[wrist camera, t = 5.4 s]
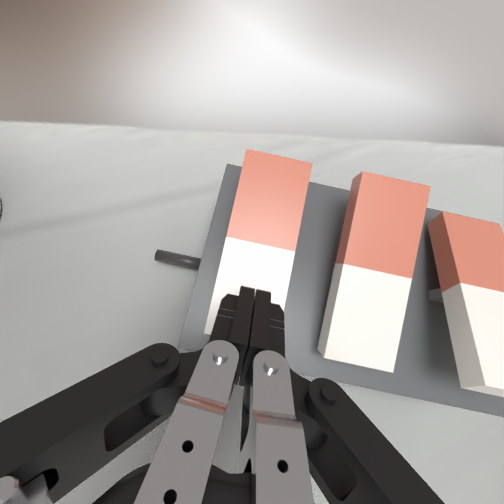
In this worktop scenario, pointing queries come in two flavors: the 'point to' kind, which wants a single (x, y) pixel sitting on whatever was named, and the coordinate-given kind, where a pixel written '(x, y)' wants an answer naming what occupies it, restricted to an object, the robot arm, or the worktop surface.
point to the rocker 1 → (262, 229)
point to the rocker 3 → (472, 296)
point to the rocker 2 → (373, 271)
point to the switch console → (315, 300)
